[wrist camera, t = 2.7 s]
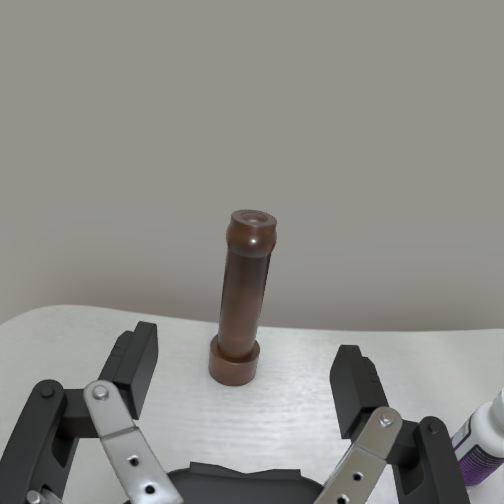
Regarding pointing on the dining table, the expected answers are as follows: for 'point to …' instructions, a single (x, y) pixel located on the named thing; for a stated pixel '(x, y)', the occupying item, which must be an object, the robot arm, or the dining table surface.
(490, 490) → the dining table surface
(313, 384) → the dining table surface
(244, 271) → the brown rolling pin handle
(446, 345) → the dining table surface
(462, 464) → the pill bottle
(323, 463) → the dining table surface
